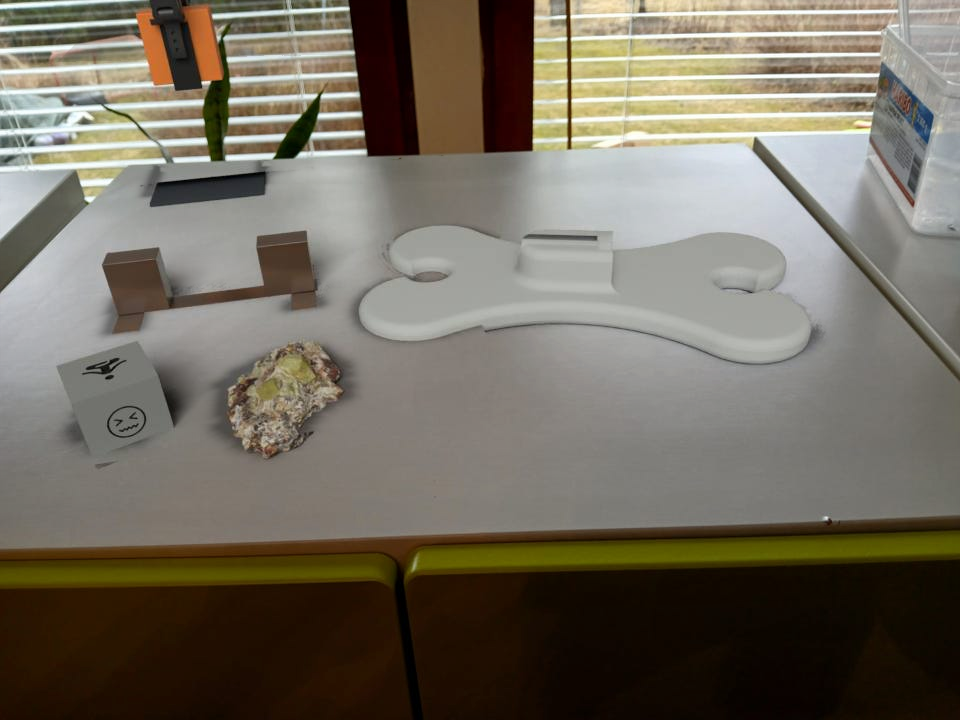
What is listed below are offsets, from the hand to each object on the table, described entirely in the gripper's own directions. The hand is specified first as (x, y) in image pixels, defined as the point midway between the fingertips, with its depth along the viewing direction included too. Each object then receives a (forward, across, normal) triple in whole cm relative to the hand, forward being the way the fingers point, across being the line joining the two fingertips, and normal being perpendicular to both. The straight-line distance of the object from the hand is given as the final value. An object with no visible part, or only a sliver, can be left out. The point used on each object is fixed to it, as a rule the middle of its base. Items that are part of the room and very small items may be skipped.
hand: (190, 84), depth 85 cm
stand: (+11, -31, -3) cm, 33 cm away
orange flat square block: (0, 0, 0) cm, 0 cm away
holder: (+11, -37, -32) cm, 50 cm away
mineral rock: (+11, -47, -8) cm, 49 cm away
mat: (+11, 0, 0) cm, 11 cm away
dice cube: (+11, -47, +2) cm, 48 cm away
